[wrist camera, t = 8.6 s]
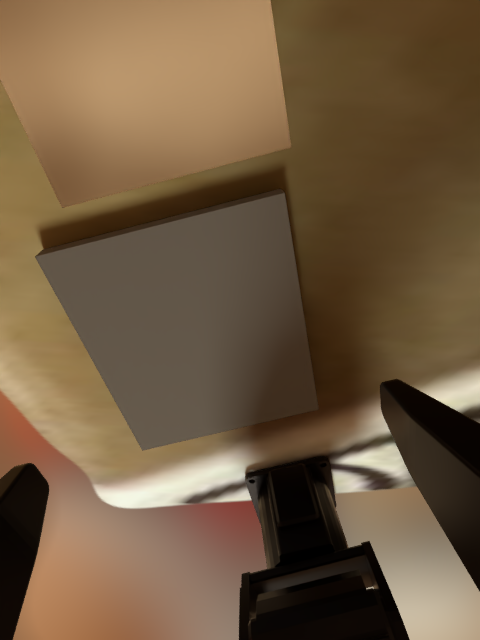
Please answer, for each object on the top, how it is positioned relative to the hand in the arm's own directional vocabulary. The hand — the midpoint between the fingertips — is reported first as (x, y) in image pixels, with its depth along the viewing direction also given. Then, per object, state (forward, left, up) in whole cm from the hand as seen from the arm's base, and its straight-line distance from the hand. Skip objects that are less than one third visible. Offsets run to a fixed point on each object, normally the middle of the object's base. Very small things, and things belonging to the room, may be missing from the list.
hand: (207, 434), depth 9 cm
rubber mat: (-4, +1, -11) cm, 12 cm away
